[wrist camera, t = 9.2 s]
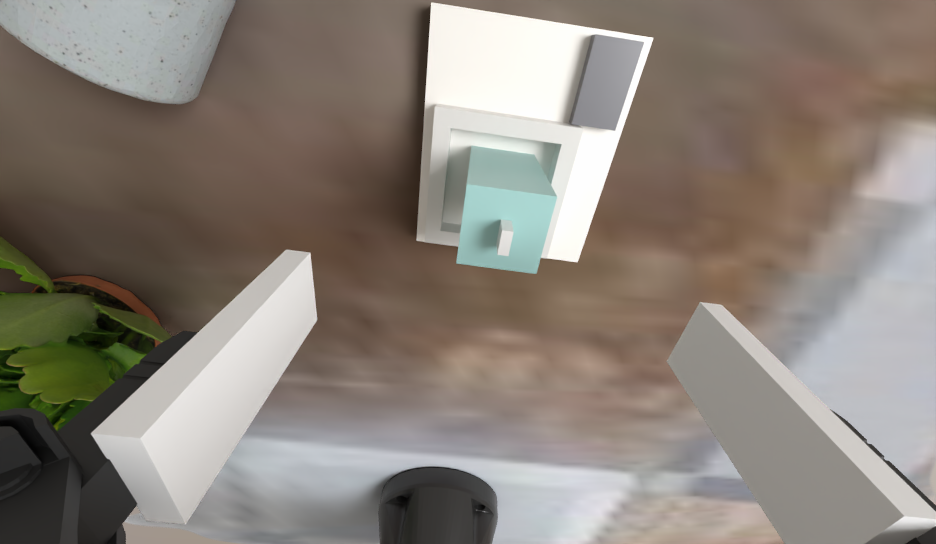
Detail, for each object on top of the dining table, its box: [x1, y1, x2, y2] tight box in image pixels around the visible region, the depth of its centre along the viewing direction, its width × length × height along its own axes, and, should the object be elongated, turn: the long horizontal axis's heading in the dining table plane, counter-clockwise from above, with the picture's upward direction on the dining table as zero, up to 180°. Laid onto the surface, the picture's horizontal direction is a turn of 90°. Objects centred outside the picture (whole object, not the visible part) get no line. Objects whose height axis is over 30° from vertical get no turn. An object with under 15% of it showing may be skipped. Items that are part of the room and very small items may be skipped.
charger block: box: [456, 146, 557, 274], centre depth 19 cm, size 4×4×9 cm
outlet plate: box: [416, 2, 653, 262], centre depth 22 cm, size 14×12×3 cm
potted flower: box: [0, 237, 171, 431], centre depth 24 cm, size 25×24×18 cm
